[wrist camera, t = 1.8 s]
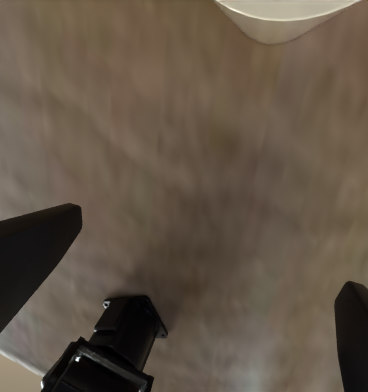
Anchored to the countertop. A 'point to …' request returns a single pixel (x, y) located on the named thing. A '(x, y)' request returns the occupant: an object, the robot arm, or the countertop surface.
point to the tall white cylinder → (280, 16)
